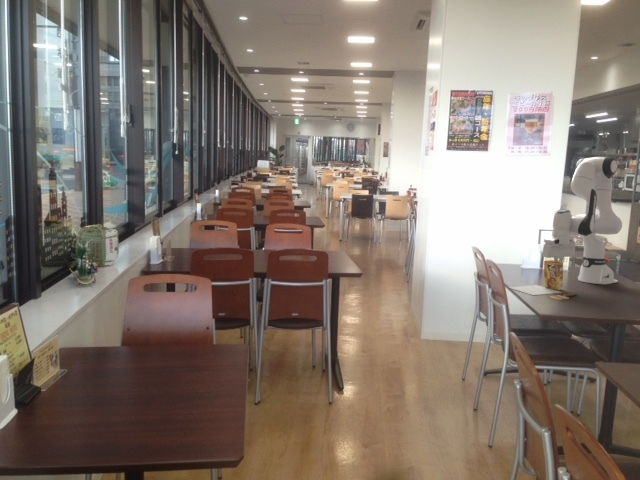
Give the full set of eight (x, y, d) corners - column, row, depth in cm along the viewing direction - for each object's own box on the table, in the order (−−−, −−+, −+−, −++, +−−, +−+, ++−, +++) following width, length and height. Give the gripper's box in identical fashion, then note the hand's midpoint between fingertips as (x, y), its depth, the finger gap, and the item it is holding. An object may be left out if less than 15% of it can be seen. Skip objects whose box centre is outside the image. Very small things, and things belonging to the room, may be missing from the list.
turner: (570, 293, 306) (570, 291, 306) (580, 296, 301) (581, 293, 301) (548, 298, 296) (549, 295, 296) (559, 300, 291) (559, 297, 291)
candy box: (563, 288, 316) (563, 261, 312) (559, 290, 313) (559, 263, 309) (547, 285, 322) (547, 259, 319) (543, 287, 320) (543, 260, 316)
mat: (536, 285, 325) (536, 285, 324) (562, 292, 308) (562, 292, 308) (508, 288, 316) (508, 287, 316) (533, 295, 300) (533, 294, 300)
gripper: (569, 238, 322) (567, 263, 324) (541, 239, 313) (539, 264, 315) (579, 240, 316) (576, 265, 318) (550, 241, 308) (548, 267, 310)
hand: (558, 265), depth 317 cm, fingers closed
